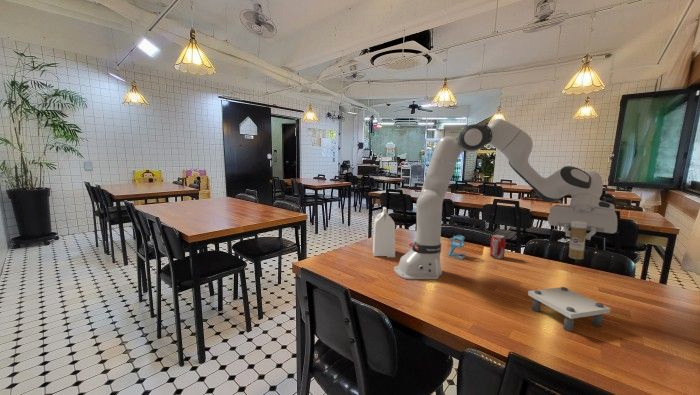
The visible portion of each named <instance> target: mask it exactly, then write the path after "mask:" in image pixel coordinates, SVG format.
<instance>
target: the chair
mask: <svg viewBox="0 0 700 395" xmlns="http://www.w3.org/2000/svg"><path fill="white" fill-rule="evenodd" d="M465 239H466V238H465V236H463V235H461V234H458V235H457V234H456V235H453V236H452V237H450V242H451V243H449V246H450V249H449V252H448V255H449V256H448V255H447V256H448V257H453V258H455V259H458V260H464V259H465V258H466V257H467V254H465V253H456V252H454V251H455V250H456V249H457V248H460V249H462V248H463V247H465V246H466V244H465V242H464V241H465ZM456 240H457V241H459V242H457V241H456ZM452 254H453V255H452ZM459 255H462V256H459ZM465 256H466V257H465Z"/></svg>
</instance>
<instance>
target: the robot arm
mask: <svg viewBox="0 0 700 395" xmlns="http://www.w3.org/2000/svg"><path fill="white" fill-rule="evenodd" d="M486 145H490V146H493V147H494V148H496V149H497V150H498V151H499V152H501V153H502V154H503V155H504V156H505V157H506V158H507V160H508V164H509V167H510V168H511V169H512V170H513V171H514V172H515V173H516V174H517V175H518V176H519V177H520V178H521V179H522V180H523V181H524V182H525V183H526V184H527V185H528V186H530V188H532V190H533V191H534V192H535V193H536V195H537V196H538V197H539V198H540V199H541V200H543V201H545V202H547V203H556V202H558V201H559V200H561V199H562V198H564V197H565V196H567V195H570V196H571V199H570V202H569V205H564V204H562V205H561V204H555V205H552V206H550V208H549V213H548V214H549V215H547V222H548V224H549V226H553V227H554V226H555V227H561V228H563V230H564V231H565V237H568V238H570V237H571V230H569V229H571V227H572V226H571V222H572V221H582V222H586V223H587V228H586V231H590V232H586V234H585V240H587V241H591V238H592V237H593V236H594V235H595V234H596V233H597V232H599V233H606V234H615V233H617V232H618V215H617V212H616V210H615V209H616V207H615V205H614V204H613V203H611V202H606V201H603V200H600V199H601V196H602V195H603V189H604V183H603V178H602V176H601V174H600V173H598V172H597V171H593V170H583V169H581V168H578V167H576V166H571V165H570V166H569V165H567V166H563V167H561V168H560V169H558V170H557V171H554V172H553V173H552V174H551V175H549V176H548V177H543V176H542V175H541V174H540V173H539V172H538V171H536V170H535V169H534V168H533V166H531V164H530V162H529V158H530V156H531V153H532V150H533V145H534V142H533V139H532V137H531V136H530V135H529V134H528V133H527V132H525V131H524V130H523V129H521V128H520V127H518V126H517V125H515V124H513V123H510V122H509V121H507V120H504V119H501V118H496V119H493V120H492V121H490V122H488V124H487V125H486V124H485V125H484V124H474V123H473V124H469V125H466V126H464V128H462V129H461V131H460V132H459V133H458V134H457V135H456V136H451V135H449V136H447V135H446V136H443V137H441V138H439V139H438V142H437V144H436V146H435V148H434V150H433V152H432V156H431V158H430V160H429V164H428V167H427V171H426V173H425V176H424V177H425V178H424V181H423V184H422V188H421V191H420V193H419V196H418V197H417V199H416V231H415V232H416V233H415V235H416V236H415V241H414V242H412V241H409V242H408V246H409V247H410V248H412V249H410V250H409V251H408V252H406V253H405V254H404V255H401V257H400V259H399V262H398V265H395V266H394V268H393V271H394V273H395V274H396V275H397V276H398V277H400V278H403V279H405V280H438V279H439V278H440V276H442V274H443V269H442V266H441V252H442V243H441V234H442V220H443V219H442V218H443V216H442V214H443V203H444V200H445V196H446V194H447V192H448V189H449V187H450V183H451V181H452V177H453V174H454V172H455V168H456V166H457V163H458V159H459V157H460V155H461V154H462V153H465V152H468V153H469V152H470V153H473V152H477V151H479V150H480V149H483V147H485V146H486Z"/></svg>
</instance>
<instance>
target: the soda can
mask: <svg viewBox="0 0 700 395" xmlns="http://www.w3.org/2000/svg"><path fill="white" fill-rule="evenodd" d="M489 248H490V249H489V255H490V257H491V258H493V259H496V258H497V259H499V260H500V259H503V258H504V257H505V253H506V252H505V250H506V239H505V236H504V235H501V234H493V235H492V237H491V240H490V247H489Z"/></svg>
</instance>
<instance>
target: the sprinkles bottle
mask: <svg viewBox="0 0 700 395" xmlns="http://www.w3.org/2000/svg"><path fill="white" fill-rule="evenodd" d="M571 226H572V227H571V228H570V231H571V237H569V238H570V239H569V244H568V245H569V248H568V249H569V250H568V254H567V256H568V257H569V258H570V259H575V260H583V259H585V258H584V257H585V256H584V254H585V247H586V245H585V244H586V239H585V234H586V233H587V230H586V228H587V223H586V222H582V221H572V222H571Z"/></svg>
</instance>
